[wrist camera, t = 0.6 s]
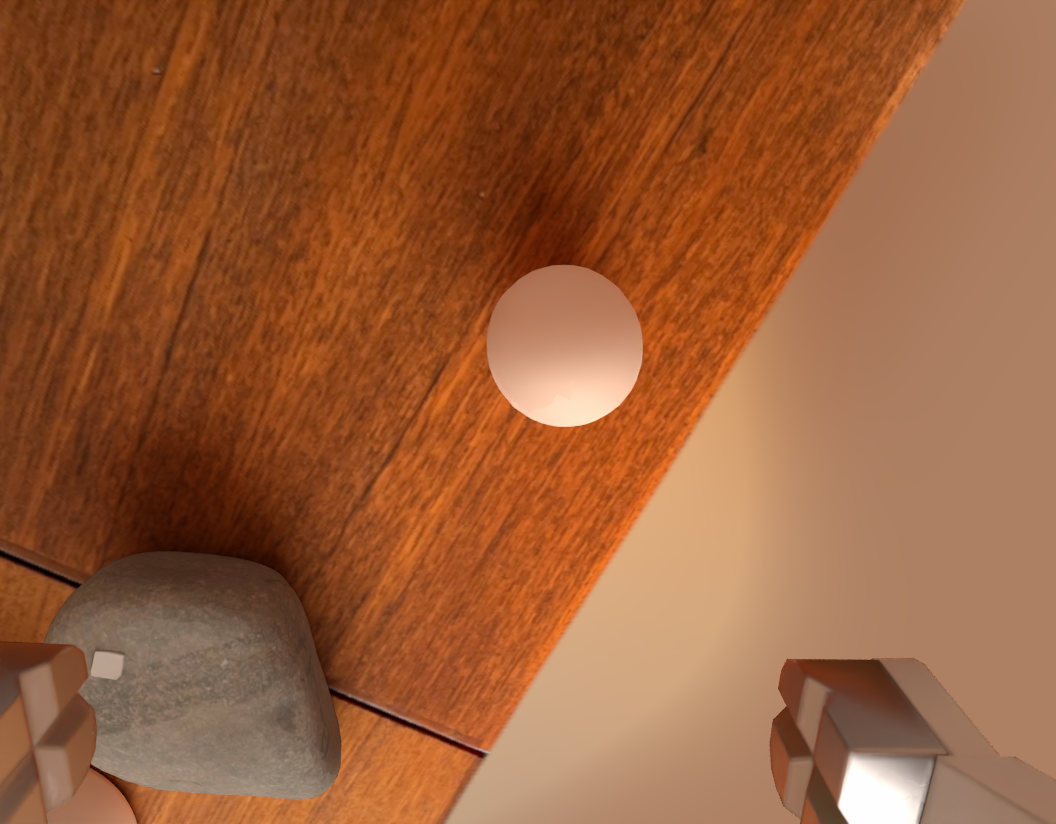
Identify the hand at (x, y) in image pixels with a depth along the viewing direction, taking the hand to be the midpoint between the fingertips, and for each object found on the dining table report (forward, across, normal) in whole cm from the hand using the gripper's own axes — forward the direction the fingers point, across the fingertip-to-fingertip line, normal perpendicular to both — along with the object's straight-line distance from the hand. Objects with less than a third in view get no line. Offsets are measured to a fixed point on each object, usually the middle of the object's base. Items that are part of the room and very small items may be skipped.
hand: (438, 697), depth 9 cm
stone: (+19, +10, +13) cm, 25 cm away
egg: (+19, -2, -1) cm, 19 cm away
